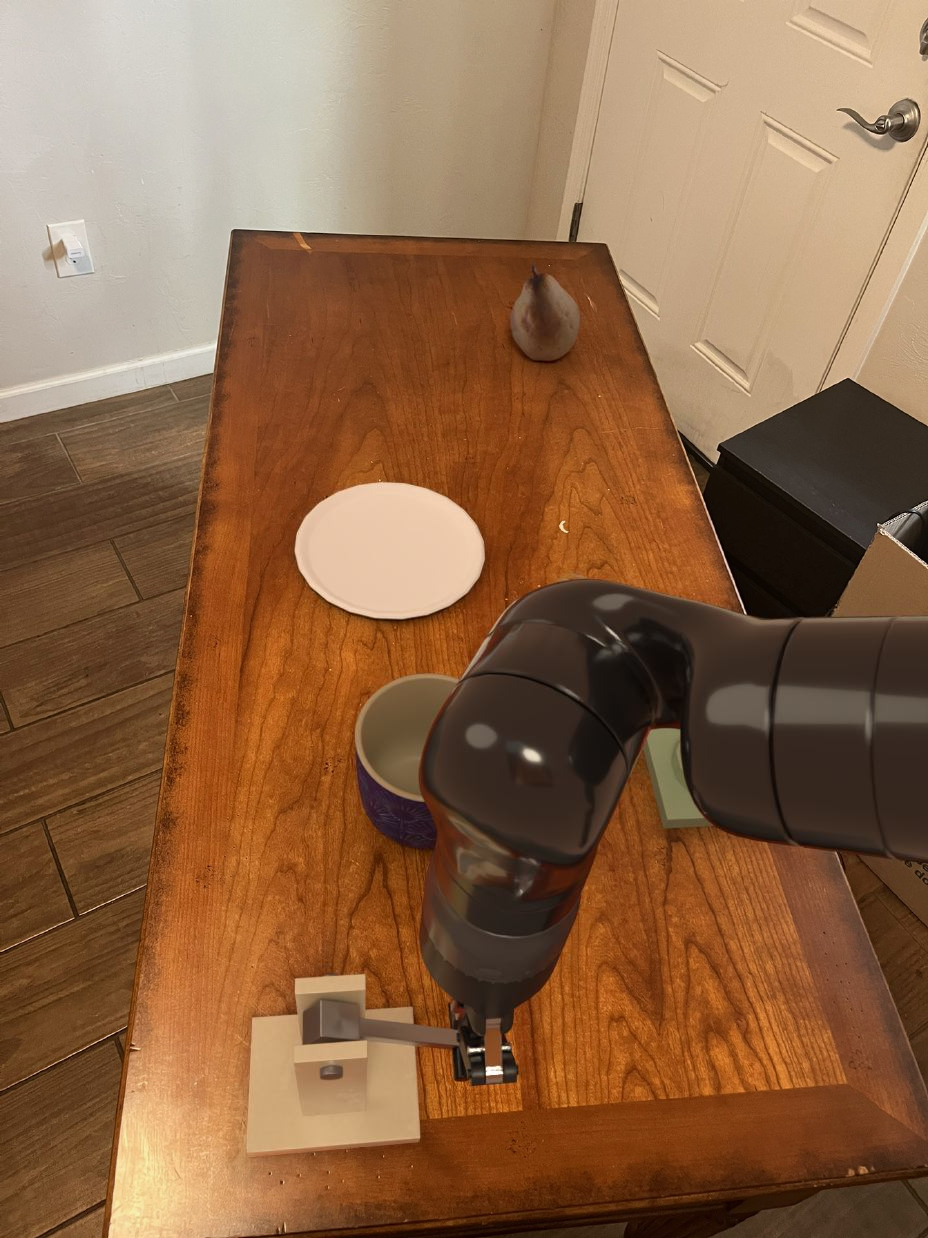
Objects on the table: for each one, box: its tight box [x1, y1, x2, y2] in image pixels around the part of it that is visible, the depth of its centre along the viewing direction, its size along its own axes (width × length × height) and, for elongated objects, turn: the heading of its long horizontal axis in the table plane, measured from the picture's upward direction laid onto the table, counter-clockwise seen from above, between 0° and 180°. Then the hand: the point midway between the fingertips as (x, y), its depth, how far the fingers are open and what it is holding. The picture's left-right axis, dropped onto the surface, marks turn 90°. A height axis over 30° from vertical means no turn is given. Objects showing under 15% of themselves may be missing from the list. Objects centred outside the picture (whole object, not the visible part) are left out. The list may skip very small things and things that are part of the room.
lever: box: [302, 1000, 469, 1083], centre depth 61 cm, size 12×5×2 cm
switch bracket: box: [245, 973, 421, 1158], centre depth 63 cm, size 12×9×15 cm
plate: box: [294, 481, 486, 621], centre depth 103 cm, size 21×21×1 cm
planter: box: [354, 673, 460, 850], centre depth 80 cm, size 12×12×11 cm
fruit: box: [510, 265, 581, 362], centre depth 127 cm, size 10×9×12 cm
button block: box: [642, 728, 714, 829], centre depth 87 cm, size 10×10×4 cm
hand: (467, 1017), depth 60 cm, fingers closed
